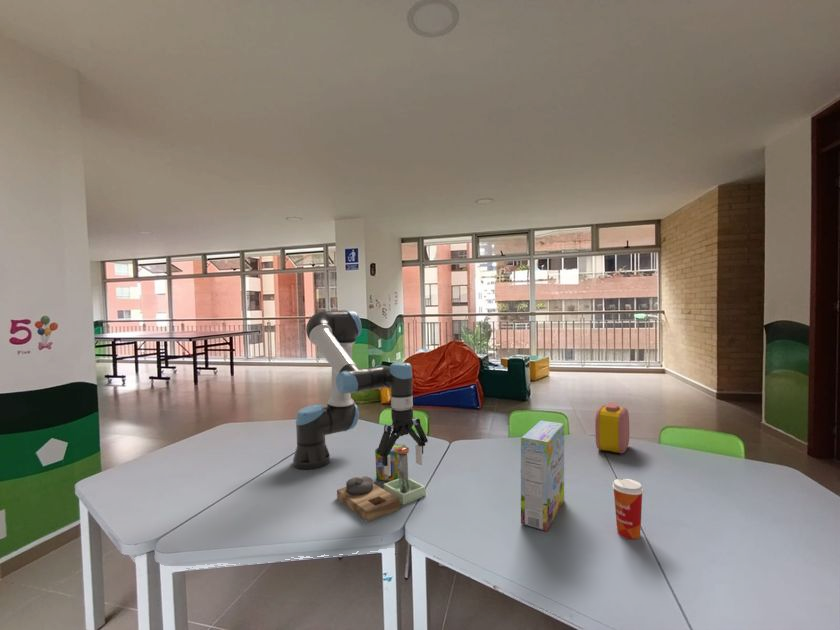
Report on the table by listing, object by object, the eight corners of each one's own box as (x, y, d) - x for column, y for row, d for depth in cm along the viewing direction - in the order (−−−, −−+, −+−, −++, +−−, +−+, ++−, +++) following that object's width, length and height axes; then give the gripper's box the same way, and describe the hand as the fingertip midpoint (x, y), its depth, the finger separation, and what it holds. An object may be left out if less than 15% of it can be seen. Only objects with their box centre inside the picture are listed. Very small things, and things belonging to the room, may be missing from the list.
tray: (383, 492, 138) (383, 483, 138) (405, 484, 144) (405, 476, 144) (403, 504, 129) (403, 495, 129) (425, 495, 135) (425, 486, 135)
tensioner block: (337, 498, 134) (336, 478, 134) (367, 487, 142) (366, 468, 142) (368, 521, 119) (367, 498, 119) (400, 508, 126) (399, 486, 126)
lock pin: (395, 492, 137) (393, 448, 137) (405, 488, 139) (403, 445, 139) (403, 496, 133) (400, 451, 133) (413, 492, 136) (411, 448, 136)
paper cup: (607, 527, 113) (606, 478, 112) (633, 525, 113) (632, 476, 113) (624, 543, 105) (622, 490, 105) (651, 540, 105) (650, 488, 105)
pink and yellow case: (603, 440, 184) (603, 399, 184) (630, 445, 178) (629, 402, 178) (595, 453, 169) (594, 408, 169) (623, 458, 163) (622, 411, 163)
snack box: (550, 533, 110) (548, 442, 110) (519, 525, 115) (517, 437, 115) (566, 500, 129) (565, 422, 128) (540, 494, 133) (538, 419, 133)
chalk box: (397, 483, 145) (396, 443, 145) (375, 480, 148) (374, 441, 148) (407, 473, 154) (406, 435, 154) (386, 470, 157) (385, 433, 157)
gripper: (377, 416, 125) (379, 483, 125) (436, 403, 141) (438, 462, 141) (365, 412, 131) (367, 475, 131) (423, 400, 147) (424, 456, 147)
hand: (403, 469), depth 136 cm, fingers open, 13 cm apart
